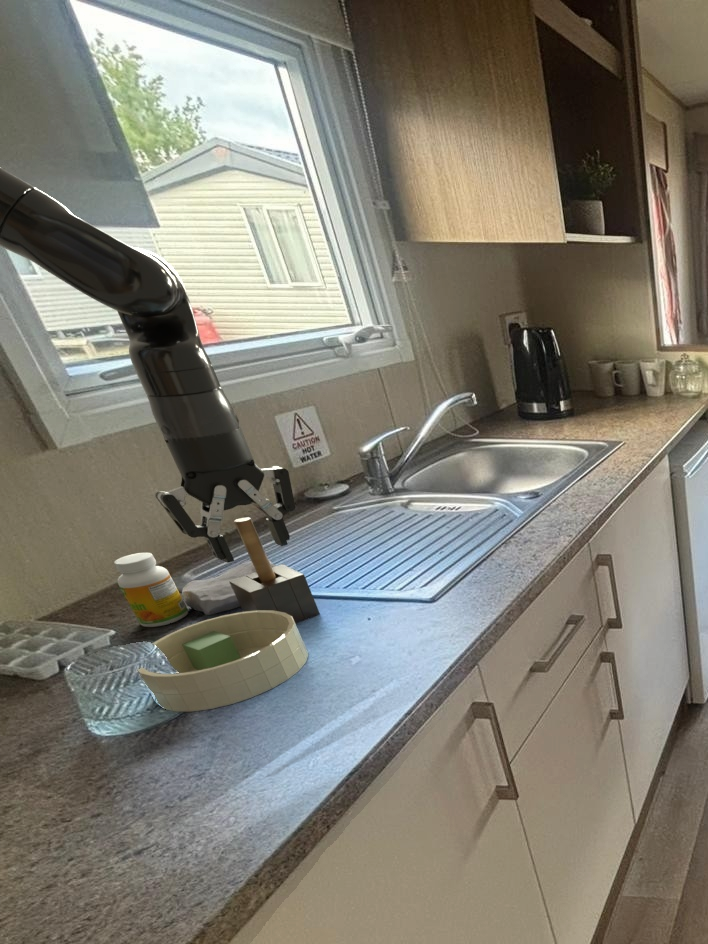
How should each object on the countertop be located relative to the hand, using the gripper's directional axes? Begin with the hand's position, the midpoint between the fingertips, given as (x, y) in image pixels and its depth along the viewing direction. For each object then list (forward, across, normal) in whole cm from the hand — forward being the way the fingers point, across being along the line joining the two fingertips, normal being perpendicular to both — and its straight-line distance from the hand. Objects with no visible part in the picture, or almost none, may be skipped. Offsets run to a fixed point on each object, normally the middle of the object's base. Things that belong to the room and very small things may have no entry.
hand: (255, 552), depth 89 cm
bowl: (+11, +10, +11) cm, 18 cm away
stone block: (+11, 0, -13) cm, 17 cm away
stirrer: (+11, 0, 0) cm, 11 cm away
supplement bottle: (+11, +9, -16) cm, 21 cm away
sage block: (+10, +10, +7) cm, 16 cm away
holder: (+11, 0, 0) cm, 11 cm away
